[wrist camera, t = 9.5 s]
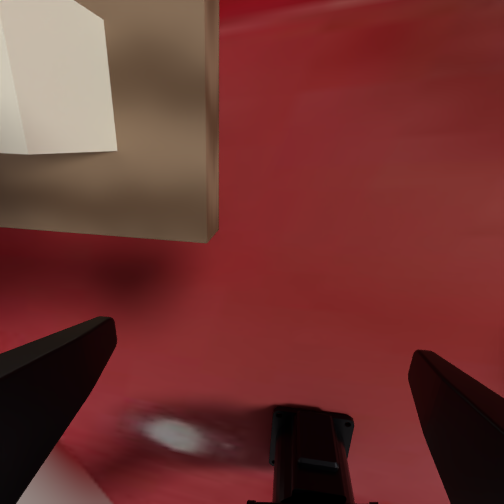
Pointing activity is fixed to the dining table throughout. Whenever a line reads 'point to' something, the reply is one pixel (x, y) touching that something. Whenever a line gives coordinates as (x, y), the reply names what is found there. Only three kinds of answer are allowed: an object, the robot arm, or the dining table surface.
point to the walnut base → (137, 135)
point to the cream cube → (54, 79)
